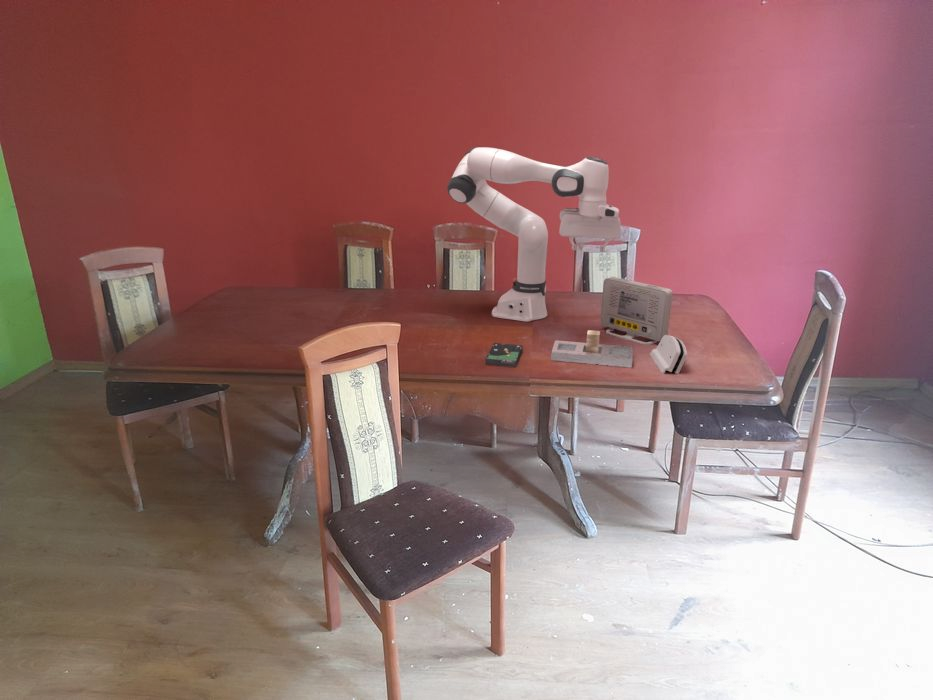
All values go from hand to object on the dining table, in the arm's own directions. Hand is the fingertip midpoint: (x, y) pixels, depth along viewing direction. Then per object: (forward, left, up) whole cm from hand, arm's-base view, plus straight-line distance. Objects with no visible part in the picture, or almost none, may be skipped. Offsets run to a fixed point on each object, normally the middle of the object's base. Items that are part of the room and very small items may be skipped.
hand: (588, 250), depth 202 cm
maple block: (+4, -14, -33) cm, 36 cm away
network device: (+18, +10, -33) cm, 39 cm away
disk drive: (-24, -21, -34) cm, 46 cm away
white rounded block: (+29, -14, -33) cm, 46 cm away
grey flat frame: (+5, -14, -33) cm, 36 cm away
